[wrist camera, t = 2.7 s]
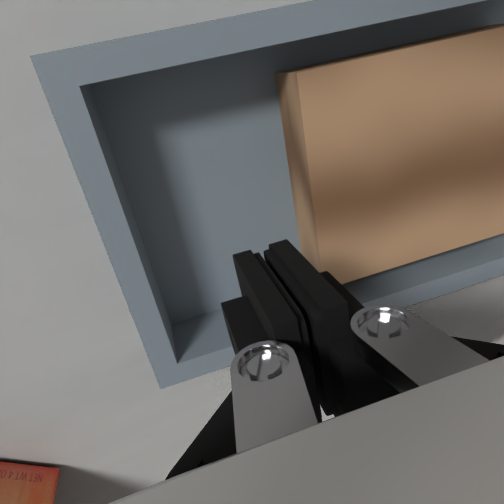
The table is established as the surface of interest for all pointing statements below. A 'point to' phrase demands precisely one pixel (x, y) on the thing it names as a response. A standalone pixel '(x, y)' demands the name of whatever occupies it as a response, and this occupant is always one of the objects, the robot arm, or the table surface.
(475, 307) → the table surface
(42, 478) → the cracker box
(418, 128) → the tan square slab
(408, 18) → the blue-grey open-ended tray
